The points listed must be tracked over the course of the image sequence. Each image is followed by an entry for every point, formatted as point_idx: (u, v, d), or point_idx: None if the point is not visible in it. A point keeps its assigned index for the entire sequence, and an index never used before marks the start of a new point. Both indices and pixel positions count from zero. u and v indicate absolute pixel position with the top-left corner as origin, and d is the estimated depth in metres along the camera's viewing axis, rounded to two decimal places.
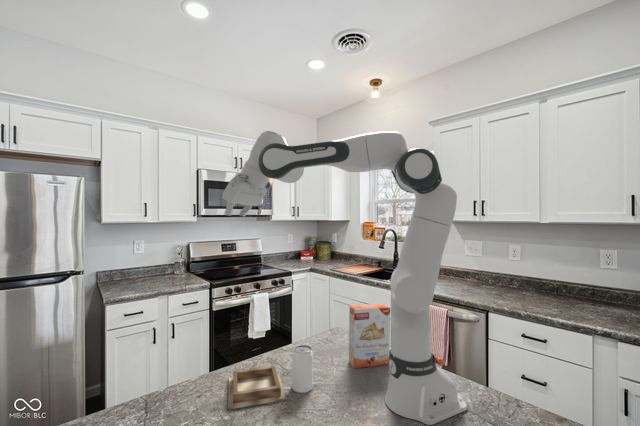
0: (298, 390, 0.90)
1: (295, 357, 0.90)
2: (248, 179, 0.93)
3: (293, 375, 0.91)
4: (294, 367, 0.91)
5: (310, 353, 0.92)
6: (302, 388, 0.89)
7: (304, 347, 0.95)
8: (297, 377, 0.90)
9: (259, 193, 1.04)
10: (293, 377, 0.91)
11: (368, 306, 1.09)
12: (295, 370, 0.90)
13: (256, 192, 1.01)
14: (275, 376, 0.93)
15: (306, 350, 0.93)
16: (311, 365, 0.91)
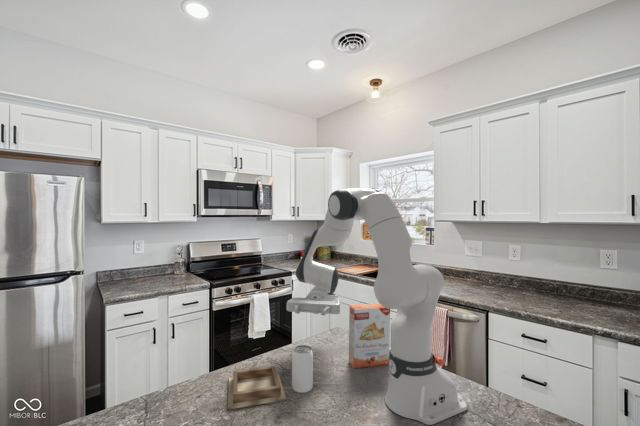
0: (298, 390, 0.90)
1: (295, 357, 0.90)
2: None
3: (293, 375, 0.91)
4: (294, 367, 0.91)
5: (310, 353, 0.92)
6: (302, 388, 0.89)
7: (304, 347, 0.95)
8: (297, 377, 0.90)
9: (330, 301, 1.14)
10: (293, 377, 0.91)
11: (368, 306, 1.09)
12: (295, 370, 0.90)
13: (324, 301, 1.14)
14: (275, 376, 0.93)
15: (306, 350, 0.93)
16: (311, 365, 0.91)
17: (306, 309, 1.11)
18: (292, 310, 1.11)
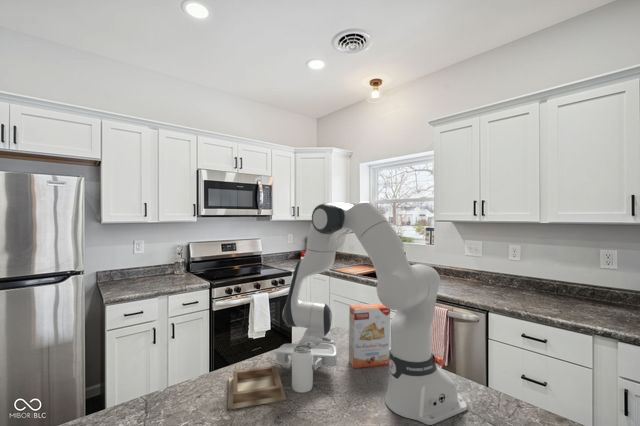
0: (298, 390, 0.90)
1: (295, 357, 0.90)
2: None
3: (293, 375, 0.91)
4: (294, 367, 0.91)
5: (310, 353, 0.92)
6: (302, 388, 0.89)
7: (304, 347, 0.95)
8: (297, 377, 0.90)
9: (326, 349, 1.00)
10: (293, 377, 0.91)
11: (368, 306, 1.09)
12: (295, 370, 0.90)
13: (318, 348, 1.01)
14: (275, 376, 0.93)
15: (306, 350, 0.93)
16: (311, 365, 0.91)
17: None
18: (282, 361, 0.98)
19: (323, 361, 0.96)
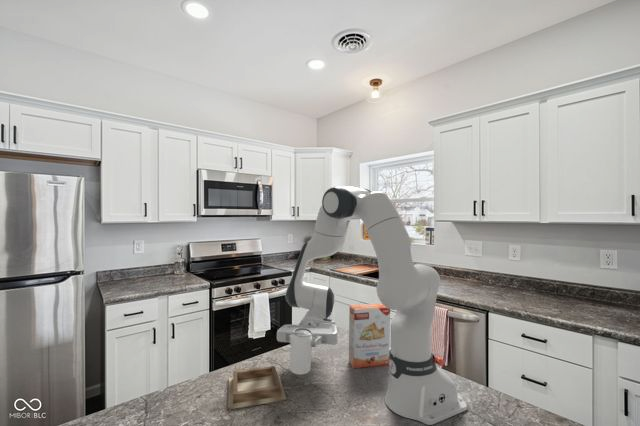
0: (297, 372, 0.90)
1: (295, 340, 0.90)
2: None
3: (292, 357, 0.91)
4: (293, 350, 0.90)
5: (310, 336, 0.91)
6: (301, 370, 0.90)
7: (303, 330, 0.94)
8: (296, 359, 0.90)
9: (326, 328, 1.00)
10: (292, 359, 0.91)
11: (368, 306, 1.09)
12: (294, 353, 0.90)
13: (319, 328, 1.01)
14: (275, 376, 0.93)
15: (306, 333, 0.92)
16: (310, 348, 0.92)
17: None
18: (283, 340, 0.98)
19: (324, 339, 0.96)
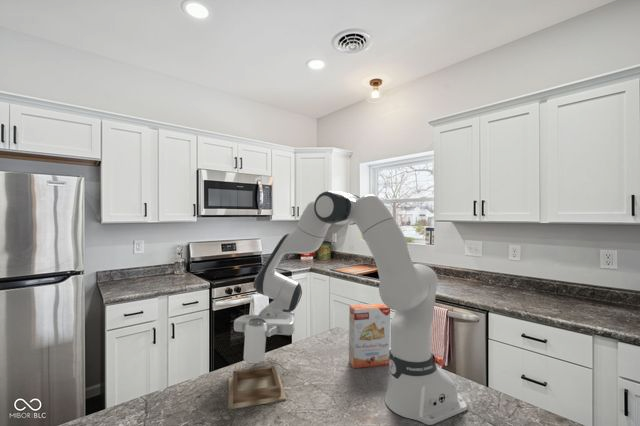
0: (249, 361, 0.90)
1: (248, 330, 0.90)
2: None
3: (245, 346, 0.91)
4: (246, 339, 0.91)
5: (264, 326, 0.92)
6: (253, 359, 0.90)
7: (258, 320, 0.95)
8: (248, 349, 0.90)
9: (284, 319, 1.01)
10: (245, 349, 0.91)
11: (368, 306, 1.09)
12: (247, 342, 0.90)
13: (277, 319, 1.01)
14: (275, 376, 0.93)
15: (260, 323, 0.93)
16: (264, 338, 0.92)
17: None
18: (240, 330, 0.98)
19: (279, 330, 0.96)
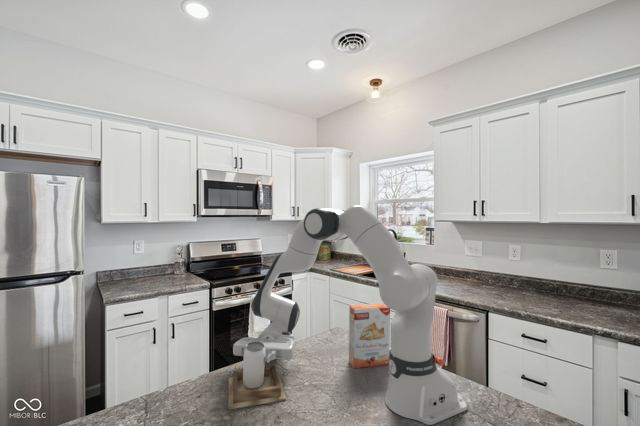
0: (248, 386, 0.90)
1: (247, 355, 0.90)
2: None
3: (244, 371, 0.91)
4: (245, 364, 0.90)
5: (262, 351, 0.91)
6: (252, 384, 0.90)
7: (257, 344, 0.94)
8: (247, 374, 0.90)
9: (283, 343, 1.01)
10: (244, 373, 0.91)
11: (368, 306, 1.09)
12: (246, 367, 0.90)
13: (276, 342, 1.01)
14: (275, 376, 0.93)
15: (258, 347, 0.92)
16: (263, 362, 0.92)
17: None
18: (239, 354, 0.98)
19: (279, 354, 0.96)
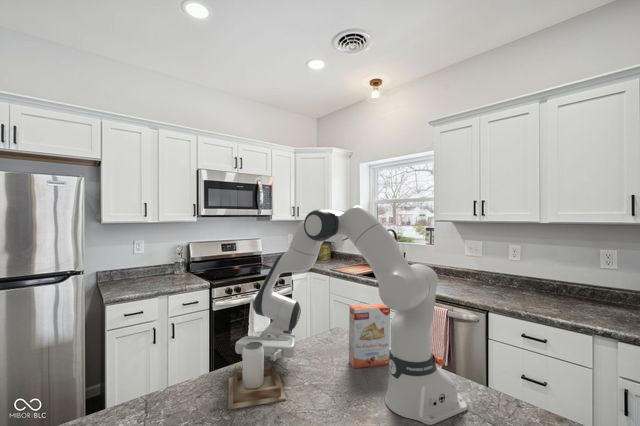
0: (248, 386, 0.90)
1: (245, 354, 0.91)
2: None
3: (243, 371, 0.91)
4: (244, 364, 0.91)
5: (261, 349, 0.93)
6: (252, 384, 0.90)
7: (255, 343, 0.96)
8: (247, 373, 0.91)
9: (285, 341, 1.02)
10: (243, 374, 0.92)
11: (368, 306, 1.09)
12: (245, 367, 0.91)
13: (278, 341, 1.03)
14: (275, 376, 0.93)
15: (257, 346, 0.93)
16: (262, 361, 0.93)
17: None
18: (241, 352, 1.00)
19: None
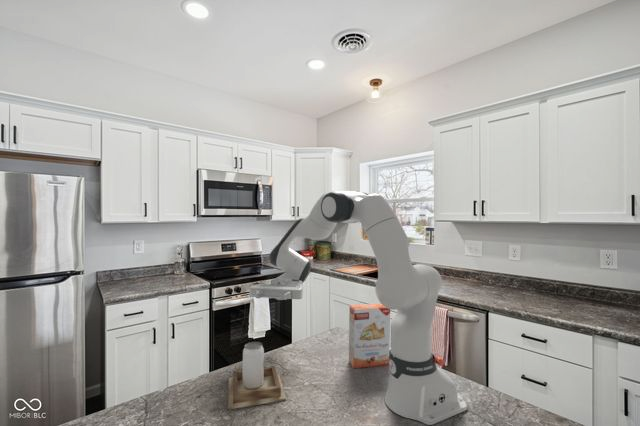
0: (248, 386, 0.90)
1: (246, 354, 0.91)
2: None
3: (243, 371, 0.91)
4: (244, 364, 0.91)
5: (261, 349, 0.93)
6: (252, 384, 0.90)
7: (255, 344, 0.96)
8: (247, 373, 0.91)
9: (293, 287, 1.14)
10: (243, 374, 0.92)
11: (368, 306, 1.09)
12: (245, 367, 0.91)
13: (287, 286, 1.14)
14: (275, 376, 0.93)
15: (257, 346, 0.94)
16: (262, 361, 0.93)
17: (268, 294, 1.11)
18: (254, 295, 1.11)
19: None
